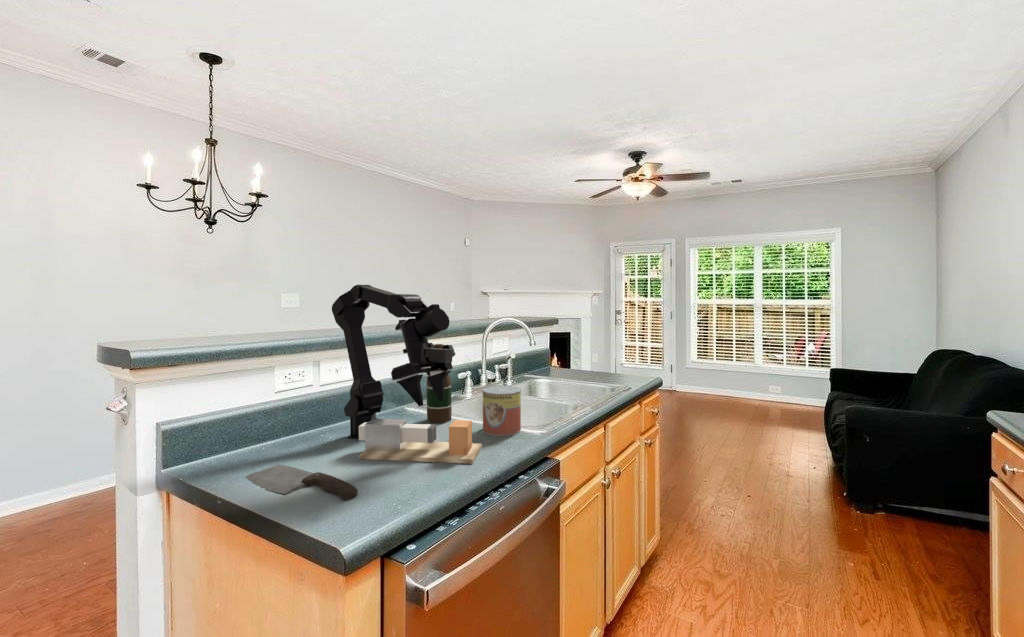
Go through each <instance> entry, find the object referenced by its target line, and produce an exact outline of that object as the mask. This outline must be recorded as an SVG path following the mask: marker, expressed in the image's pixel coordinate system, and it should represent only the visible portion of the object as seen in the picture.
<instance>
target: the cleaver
mask: <svg viewBox="0 0 1024 637" xmlns="http://www.w3.org/2000/svg"><path fill="white" fill-rule="evenodd" d="M244 478H245V479H247V480H248V481H249V482H251V481H252V482H251V483H252V484H254V485H255V486H256V487H258V486H260V487H261V488H260V487H259V488H260V489H262V488H265V489H267V490H266V491H269V492H272V493H273V492H274V493H278V494H282V495H287V494H291V493H293V492H296V491H298V490H301V489H303V488H307V487H313V486H317V487H320V488H321V489H322V490H323V491H325V492H326V493H328V494H333V495H336V496H339V497H340V498H341V499H342V500H343V501H348V500H351V499H353V498H355V497H357V495H359V494H358V492H359V491H358V488H357V487H355V485H353V484H351V483H349V482H347V481H345V480H342V479H341V478H338V477H335V476H333V475H330V474H327V473H324V472H320V471H318V472H311V471H307V470H304V469H300V468H296V467H293V466H290V465H284V464H276V465H273V466H271V467H270V466H269V467H267V468H264V469H262V470H259V471H256V472H253V473H250V474H247V475H246V476H244ZM265 489H264V490H265Z"/></svg>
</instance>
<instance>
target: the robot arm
mask: <svg viewBox="0 0 1024 637" xmlns="http://www.w3.org/2000/svg"><path fill="white" fill-rule="evenodd" d="M370 304H373V305H376V306H379V307H382V308H385V309H387V312H388V313H389V314H391V315H393V316H394V317H396V318H406V319H399V320H398V323H397V324H396V325H395V328H394V329H395V331H401V333H402V338H403V342H404V345H405V348H403V349H402V352H403V354H407V358H408V362H407V363H404V364H401V365H398V366H396V367H393V368H392V370H391V372H390V376H391V380H392V381H396V383H397V384H399V385H400V386H401V387H402V389H404V391H406V392H407V394H408V395H409V396H410V397H411V398H412V400H413V401H414V402H415V403H416V405H417V406H418V407H422V406H424V399H423V398H424V397H423V392H422V386H421V381H422V378H423V376H424V374H425V373H426V375H427V377H426V380H427V379H428V381H429V383H430V384H431V386H432V388H433V390H434V392H435V394H436V396H437V398H438V399H439V401H443V400H444V388H445V379H446V377H447V375H448V374H449V375H450V374H451V370H453V369H454V367H453V364H452V362H453V358H454V356H456V352H455V349H454V347H453V345H452V344H443V347H442V348H434V345H435V344H434V343H433V342H429V340H428V339H429V337H433V336H434V335H437V334H439V333H441V332H444V331H446V330H447V329H448V328H449V326H450V317H449V316H448V314H447V313H446V311H445V310H444V309H442V308H441V307H440V304H439V303H432V304H430V305H429V306H428V305H427V304H426V303H425V302H424V301H423V300H422V297H421V296H420V295H418V294H411V293H409V294H407V293H406V294H405V293H394V292H391V291H389V290H384V289H381V288H378V287H375V286H372V285H370V284H356V285H354V286H352V287H351V289H349V290H348V291H346V292H344V293H343V294H341V295H340V296H339V297H337V298H336V300H334V302H332V305H331V312H332V315H333V319H334V320H335V323H336V324H337V326H338V327H339V328H340V329H341V330H342V331H343V335H344V340H345V344H346V345H345V346H346V349H347V355H348V360H349V365H350V369H351V374H352V379H353V380H352V384H351V386H350V388H349V398H350V399H349V400H348V402H347V403H346V404H345V405H344V408H343V411H344V415H345V416H346V417H349V421H350V422H349V423H350V424H349V425H350V427H349V429H350V432H349V433H350V434H348V435H347V439H358V440H359V426H360V425H361V424H363V423H364V422H369V421H371V420H372V419H378V418H377V417H376V416H377V413H381V410H382V405H383V402H384V390H383V388H382V386H383V385H382V382H381V381H380V380H376V379H375V378H374V377H373V376H372V375H373V374H372V371H371V367H370V366H371V365H370V361H369V356H368V351H367V347H366V342H365V339H364V338H365V337H364V333H363V328H362V327H363V324H364V322H365V320H366V313H365V312H366V311H367V309H368V308H369V307H370ZM407 318H408V319H407ZM429 375H430V376H429ZM428 376H429V377H428Z"/></svg>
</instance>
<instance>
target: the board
mask: <svg viewBox="0 0 1024 637" xmlns="http://www.w3.org/2000/svg"><path fill="white" fill-rule="evenodd" d="M482 448H483V443H478V442H477V443H476V442H475V443H474V442H472V448H471V450H470V451H469V453H468V454H467V455H457V454H449V441H434V442H433V443H418V442H407V446H405V447H404V448H403V449H402V450H401V451H400V452H397V451H373V450H365V449H364V450H363V452H361V453H360V454H359V460H374V461H375V460H379V461H400V462H401V461H402V462H404V461H405V462H422V463H423V462H426V463H445V464H446V463H450V464H467V465H468V464H469V465H470V464H471V465H472V464H474V463H475V460H476V459H477V457H478V455H479V453H480V451H481V450H482Z"/></svg>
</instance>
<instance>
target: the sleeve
mask: <svg viewBox="0 0 1024 637" xmlns="http://www.w3.org/2000/svg"><path fill="white" fill-rule="evenodd" d="M403 424H408V420H407V419H398V418H397V419H395V418H394V419H390V418H377V419H372V420H371V421H369V422H367V423H366V424H365V440H364V443H365V444H364V446H365V447H364V448H365V449H364V451H365V450H373V451H397V452H400V451H401V450H402V449H403V448H404V447H405V446H407V442H401V437H400V426H402V425H403Z"/></svg>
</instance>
